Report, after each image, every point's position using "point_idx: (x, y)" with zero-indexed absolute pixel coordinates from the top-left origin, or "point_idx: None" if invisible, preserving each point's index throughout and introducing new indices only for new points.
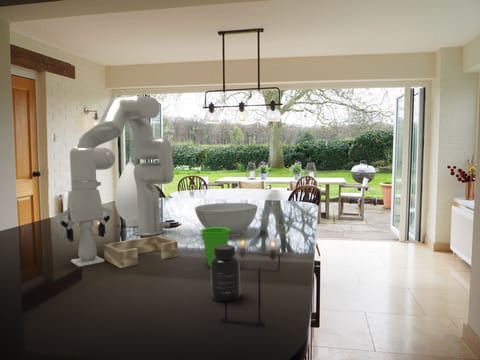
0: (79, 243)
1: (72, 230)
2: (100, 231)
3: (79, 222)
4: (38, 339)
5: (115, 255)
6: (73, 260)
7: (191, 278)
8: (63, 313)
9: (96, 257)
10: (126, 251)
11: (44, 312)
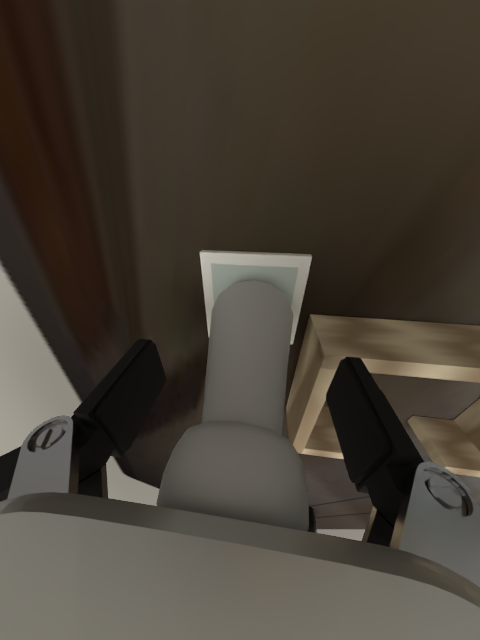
0: (209, 340)
1: (128, 444)
2: (342, 413)
3: (157, 503)
4: (142, 474)
5: (294, 416)
6: (205, 271)
7: (324, 483)
8: (160, 462)
9: (291, 298)
10: (310, 452)
11: (142, 453)
